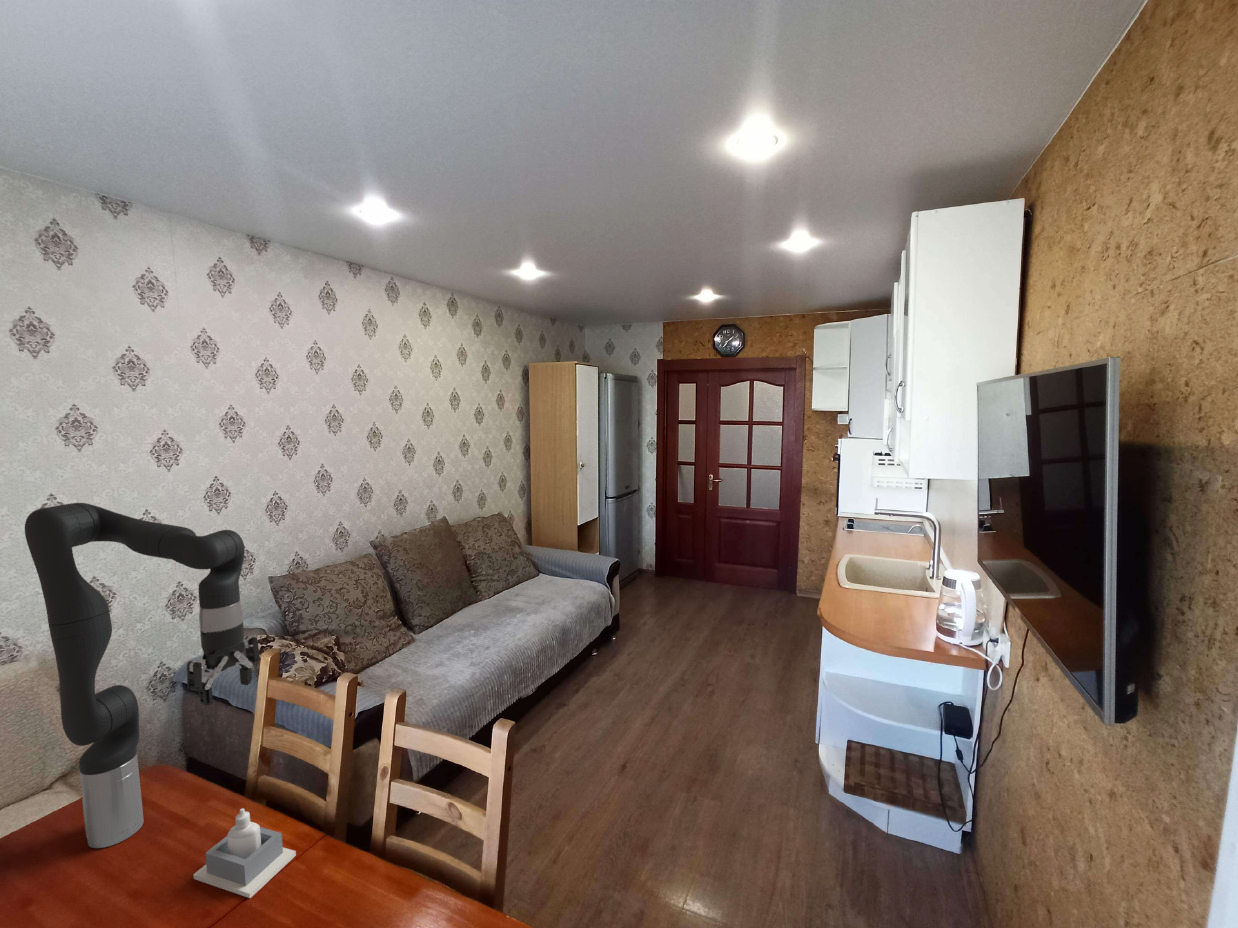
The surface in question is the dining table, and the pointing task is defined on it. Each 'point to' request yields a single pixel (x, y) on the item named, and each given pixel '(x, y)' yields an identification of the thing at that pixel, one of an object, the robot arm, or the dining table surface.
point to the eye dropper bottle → (243, 836)
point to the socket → (245, 865)
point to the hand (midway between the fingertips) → (227, 693)
